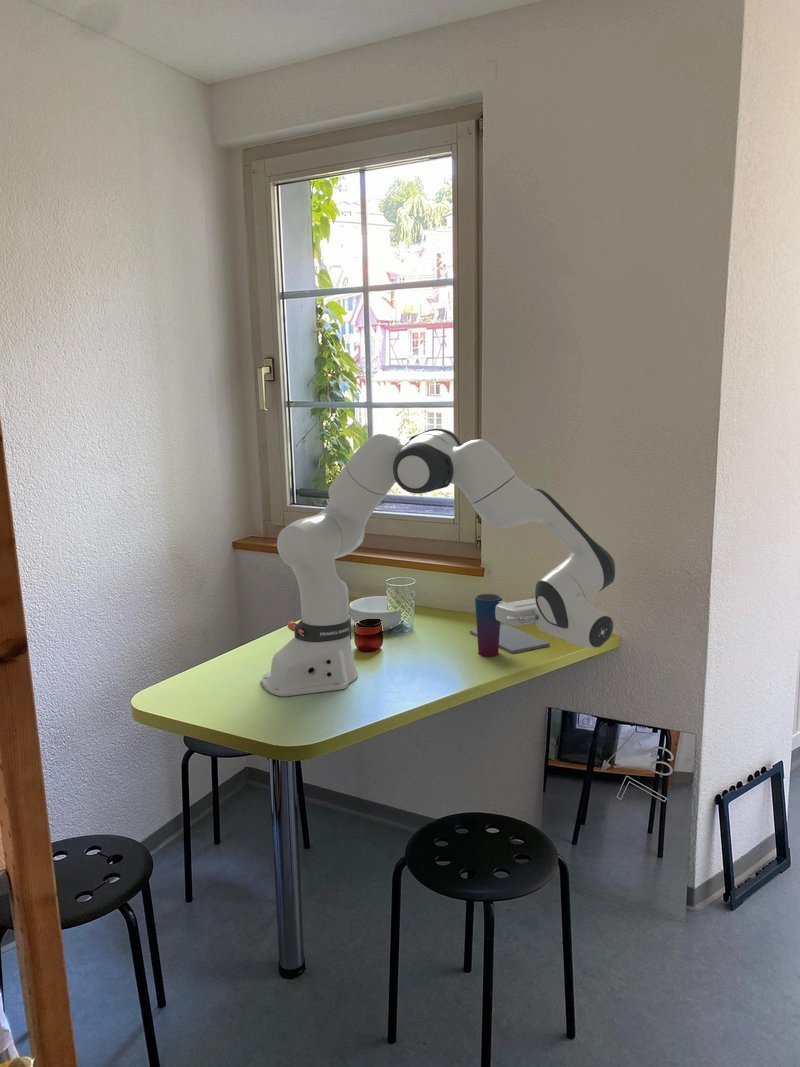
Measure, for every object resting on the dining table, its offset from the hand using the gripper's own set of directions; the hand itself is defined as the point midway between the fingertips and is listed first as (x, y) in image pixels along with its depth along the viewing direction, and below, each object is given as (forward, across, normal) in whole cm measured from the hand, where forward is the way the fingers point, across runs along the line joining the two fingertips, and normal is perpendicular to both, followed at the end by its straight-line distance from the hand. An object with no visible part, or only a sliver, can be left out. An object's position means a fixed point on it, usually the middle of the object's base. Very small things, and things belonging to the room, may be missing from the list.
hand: (517, 601), depth 190 cm
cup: (+12, 0, -17) cm, 21 cm away
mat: (+19, +11, -16) cm, 28 cm away
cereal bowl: (+48, -14, -16) cm, 52 cm away
